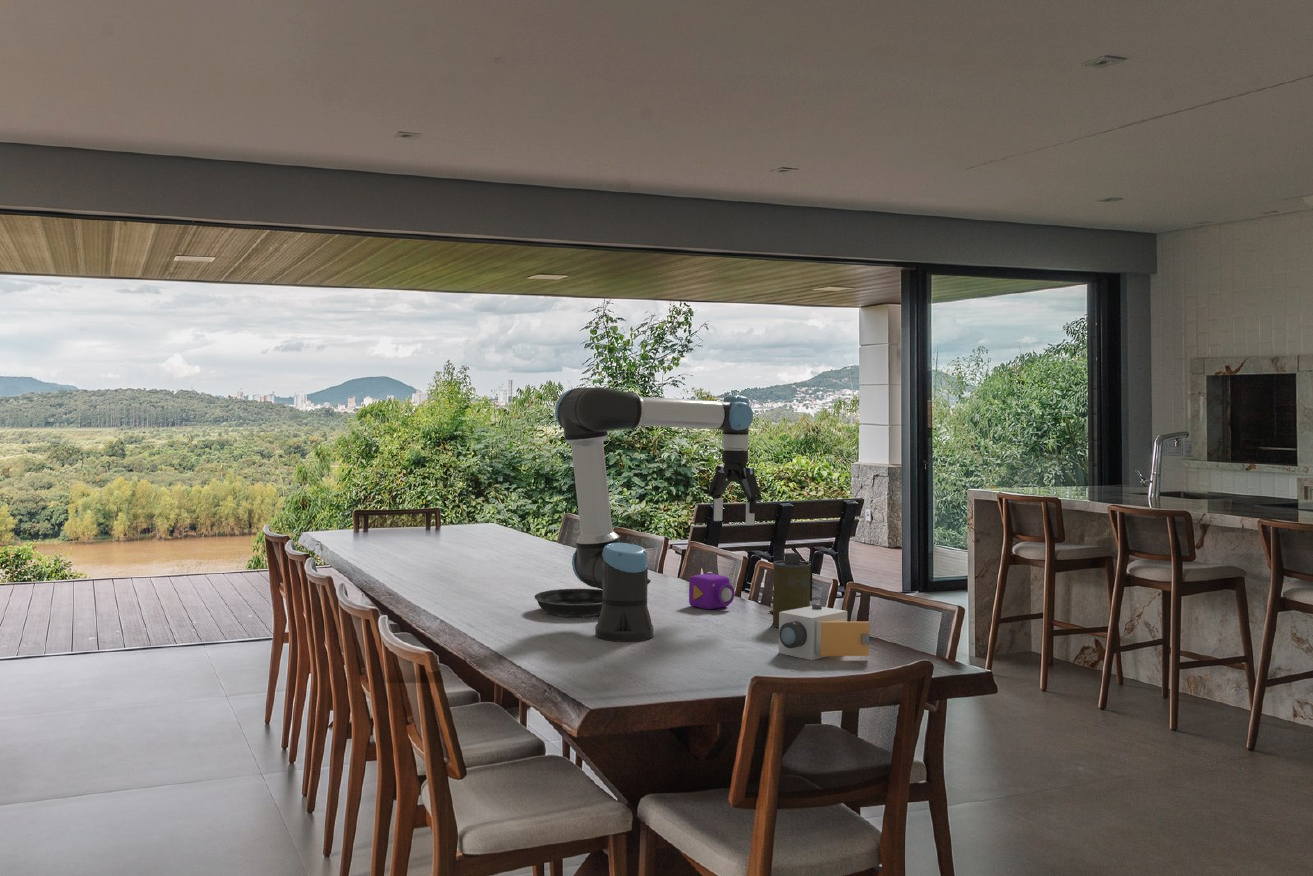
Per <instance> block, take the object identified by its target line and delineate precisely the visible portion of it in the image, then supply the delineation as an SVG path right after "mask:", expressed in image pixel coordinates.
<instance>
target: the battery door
mask: <svg viewBox="0 0 1313 876" xmlns="http://www.w3.org/2000/svg"><path fill="white" fill-rule="evenodd" d="M869 646H870V622H869V621H847V622H819V621H818V622H816V656H827V657H869V650H870V647H869Z"/></svg>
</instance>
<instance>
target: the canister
mask: <svg viewBox="0 0 1313 876" xmlns="http://www.w3.org/2000/svg"><path fill="white" fill-rule="evenodd" d="M781 556H784V558H783V559H784V560H775V561H773V562H772V565H773V587H772V589H773V590H772V591H773V592H772V593H773V595H772V596H773V598H772V609H773V614H772V623H771V627H773V626H774V628H776V627H778V628H777V629H779V612H782V611H787V610H793V609H798V608H803V607H809V606H811V604H810V603H811V602H813V561H809V560H802V559H801V556H800V553H797V552H784V553H782V554H781Z"/></svg>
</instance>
